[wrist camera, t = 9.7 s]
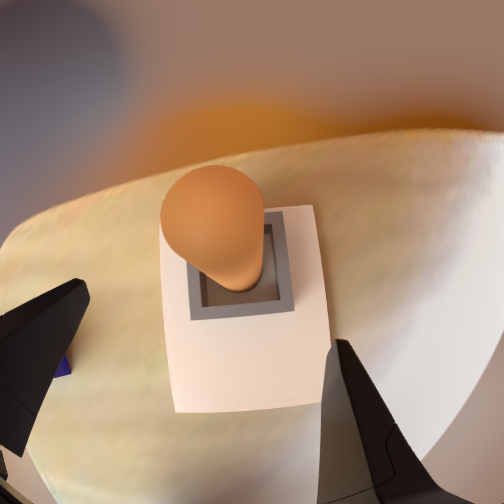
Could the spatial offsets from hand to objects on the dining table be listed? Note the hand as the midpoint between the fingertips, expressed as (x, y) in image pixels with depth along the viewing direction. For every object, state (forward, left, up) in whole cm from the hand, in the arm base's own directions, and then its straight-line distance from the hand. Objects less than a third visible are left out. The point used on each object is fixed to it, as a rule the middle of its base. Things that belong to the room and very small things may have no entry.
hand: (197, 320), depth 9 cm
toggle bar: (+3, -1, -11) cm, 12 cm away
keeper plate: (0, -1, -12) cm, 12 cm away
